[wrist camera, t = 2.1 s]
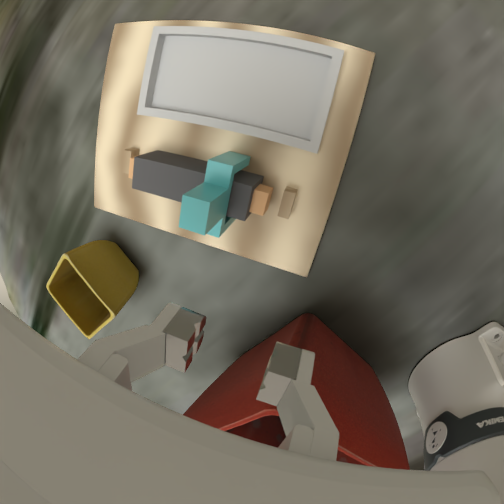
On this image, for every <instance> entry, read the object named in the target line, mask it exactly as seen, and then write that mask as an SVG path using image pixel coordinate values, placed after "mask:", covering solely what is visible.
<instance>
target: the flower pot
mask: <svg viewBox="0 0 504 504" xmlns="http://www.w3.org/2000/svg"><path fill="white" fill-rule="evenodd" d="M138 281H139V271H138V269H137V268H136V267H135V266H134V265H133V263H132V262H131V261H130V260H129V259H128V257H127V256H126V255H125V254H124V252H123V251H122V250H121V249H120V247H119V246H118V245H117V244H116V243H114V242H111V241H107V240H97V241H92V242H89V243H87V244H85V245H82V246H80V247H78V248H75V249H73V250H71V251H69V252H66V253H64V254H63V255H62V257H61V259H60V261H59V262H58V264H57V266H56V268H55V270H54V272H53V273H52V275H51V277H50V279H49V281H48V283H47V285H46V288H47V290H48V291H49V293H50V294H51V296H52V297H53V298H54V300H55V301H56V302H57V303H58V305H59V306H60V307H61V308H62V310H63V311H64V312H65V313H66V315H67V316H68V317H69V318H70V319H71V321H72V322H73V323H74V324H75V325H76V326H77V328H78V329H79V330H80V331H81V332H82V333H83V334H84V335H85V336H86V337H87V338H88V339H91V338H92V337H93V336H94V335H95V334H96V333H97V332H98V331H100V330H101V329H102V328H103V327H104V326H105V325H106V324H108V323H109V322H110V321H111V320H113V319H114V318H115V316H116V315H117V314H118V313H119V311H120V310H121V309H122V308H123V306H124V305H125V304H126V302H127V301H128V300H129V299H130V297H131V296H132V295H133V293H134V292H135V290H136V287H137V285H138Z"/></svg>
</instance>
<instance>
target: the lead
mask: <svg viewBox="0 0 504 504" xmlns="http://www.w3.org/2000/svg"><path fill="white" fill-rule="evenodd" d="M207 162H208V161H204V160H200V159H196V158H192V157H187V156H183V155H179V154H174V153H170V152H165V151H160V150H156V151H152V152H149V153H145V154H141V155H138V156H135V157H131V158H130V164H129V177H128V178H131V179H132V188H133V189H136V190H140V191H143V192H147V193H150V194H154V195H157V196H161V197H164V198H168V199H171V200H175V201H178V202H182V195H183V194H185V193H186V192H188V191H190V190H191V189H193V188H195V187H197V186H198V185H200V184H202V183H203V182H204V180H205V174H206V168H207ZM263 178H264V176H262V175H258V174H254V173H251V172H247V171H243V170H240V171H238V172H237V173H235V174H234V178H233V183H232V188H231V193H230V198H229V203H228V208H227V213H226V216H228V217H232V218H235V219H238V220H241V221H245V220H246V219H247V218H248V217H249V215H250V214H251V213H254V214H258V215H261V216H263V215H264V214H265V212H266V211H267V210H268V207H269V203H270V199H271V195H272V191H273V187H269V186H266V185H262V182H263Z"/></svg>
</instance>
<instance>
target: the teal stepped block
mask: <svg viewBox="0 0 504 504" xmlns="http://www.w3.org/2000/svg"><path fill="white" fill-rule="evenodd" d="M250 157H251V156H247V155H243V154H239V153H235V152H231V151H228V152H226V153H223V154H221V155H218V156H216V157H213V158H211V159H208V162H207V168H206V174H205V180H204V182H203V183H202V184H200V185H198V186H197V187H195V188H193V189H191V190H190V191H188V192H186V193H185V194H183V195H182V203H181V211H180V219H179V227H180V228H183V229H186V230H189V231H192V232H195V233H198V234H201V235H204V236H205V235H206V234H208V235H211V236H214V237H218V238H219V237H220V236H221V235H222V234H223V233H224V232H225V231H226V230H227V228H228V227H229V226H230V225H231V224H232V223H233V222H234V221H235V220H236V219H235V218H232V217H228V216H226V213H227V208H228V203H229V198H230V193H231V188H232V183H233V178H234V174H235V173H237V172H238V171H240V170H242V169H243V168H245V167H246V166H248V165H249V162H250Z"/></svg>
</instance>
